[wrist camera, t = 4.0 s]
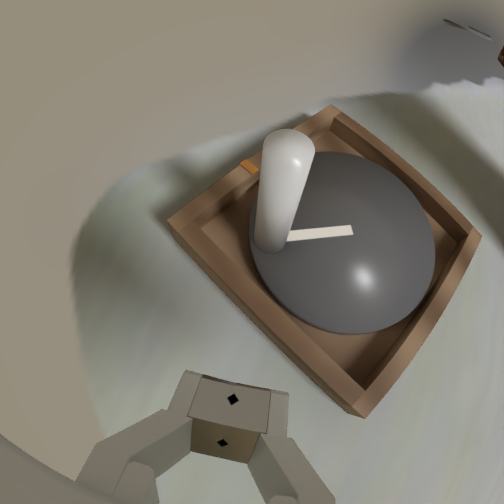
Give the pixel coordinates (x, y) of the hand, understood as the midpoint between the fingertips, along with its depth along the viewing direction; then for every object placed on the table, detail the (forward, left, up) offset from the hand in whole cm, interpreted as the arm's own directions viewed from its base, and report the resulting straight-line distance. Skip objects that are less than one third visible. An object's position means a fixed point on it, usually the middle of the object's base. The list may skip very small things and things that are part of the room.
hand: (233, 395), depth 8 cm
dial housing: (-10, -10, -14) cm, 20 cm away
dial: (-10, -10, -13) cm, 19 cm away
